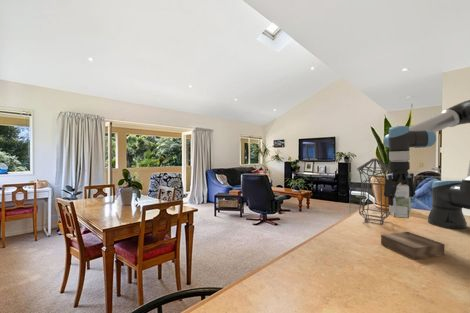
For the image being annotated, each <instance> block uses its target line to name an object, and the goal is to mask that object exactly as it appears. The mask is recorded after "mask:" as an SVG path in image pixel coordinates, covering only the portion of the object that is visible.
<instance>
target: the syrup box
mask: <svg viewBox="0 0 470 313" xmlns="http://www.w3.org/2000/svg"><path fill="white" fill-rule="evenodd" d="M394 198H396V213H391V212H390V215H392V217H393V218H397V219H398V218H399V219H410V212H409V186H408V185H406V184H401V183H399V184H398V186H397V189H396V193H395V196H394Z"/></svg>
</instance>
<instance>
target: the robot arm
mask: <svg viewBox="0 0 470 313" xmlns="http://www.w3.org/2000/svg"><path fill="white" fill-rule="evenodd" d="M466 124H470V99H469V100H465V101H462V102H460V103H457V104H455V105H453V106H450V107H449V108H446V109H444V110H442V111H441V112H440V113H439V114H437V115H434V116H433V117H430V118H428V119H425V120H423V121H421V122H418V123H416V124H412V125H411V126H407V125H399V126H398V125H397V126H391V127H389V129H388V134H386V135H384V138H383V145H384V146H385V147H386V148H388V159H389V160H388V161H389V162H388V165H389V169H390V170H391V173H390V174H385V175H384V178H385V179H384V180H385V181H384V184H385V188H384V187H383V188H384V190H383V196H384V198H385V197H386V198H387V206H388V213H389V212H390V214H391V213H396V198H394V196H395V193H396V189H397V186H398V184H406V185H408V186H409V213H411V212H412V198H414V197H415V195H416V188H415V181H414V177H415V176H414V175H415V173H410V172H409V170H410V169H411V168H410V167H411V165H410V159H411V158H410V156H411V155H410V153H411V152H410V148H428V147H433V146H434V145H435V144H436V142H437V135H436V133H437V132H439V131H441V130H445V129H446V128H453V127H456V126H459V125H466ZM466 174H467V176H466V177H464V178H462V179H461V180H434V181H433V182H432V184H431V210H430V212H429V214H428V216H427V223H428V224H430V225H434V226H437V227H441V228H446V229H447V228H448V229H456V230H458V229H461V230H463V229H467V228H468V224H467V223H468V222H467V221H466V218H465V216H464V212H463V209H464V210H465V209H466V210H470V161H469V164H468V169H467V173H466Z"/></svg>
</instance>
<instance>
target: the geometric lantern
mask: <svg viewBox="0 0 470 313" xmlns="http://www.w3.org/2000/svg"><path fill="white" fill-rule="evenodd" d="M372 165H373V167H372ZM377 165H378V167H377ZM379 169H380V170H379ZM356 170H357V171H358V172H359V177H360V178H359V179H360V183H361V187H360V195H359V197H360V198H359V199H360V200H359V209H358V214H359V215H360V216H361V217H362V218H364V222H365V223H370V224H375V225H383V224H384V221H385V219H387V218H389V216H390V215H391V212H389V211H387V210H388V209H387V208H388V207H387V197H385V196H384V206H385V207H384V211H383V196H382V195H383V194H382V193H383V190H382V186H383V188H385V181H382V180H379V179H378V177H377V176H379V175H381V176H382V178H383V179H384V180H385V175H383V173H385V172H388V174H390V173H391V170H390V169H389V164H387V163H385V162H383V161H382V160H379V159H378V158H376V157H375V158H371V159H370V160H369V161H366V162H365V163H364V164H362V165H360V166H359V167H357V168H356ZM365 171H366V172H365ZM370 172H371V173H372V174H369V173H370ZM388 174H387V175H388ZM362 175H363V176H364V178H365V180H362ZM366 175H367V177H366ZM369 177H370V178H369ZM372 177H374V178H375V180H374V182H378V183H373V185H375V186H376V185H378V186H380V187H379V188H380V191H379V192H380V210H378V209H370V208H369V205H370V185H372V183H371V179H372ZM383 183H384V184H383ZM367 185H368V189H367ZM367 190H368V191H367ZM366 191H367V192H366ZM366 193H367V208H365V204H366ZM361 207H362V208H361ZM361 209H362V210H361ZM366 211H367V212H366ZM369 211H373V212H379V213H380V215H374V214H373V215H372V214H369ZM378 218H379V219H378ZM368 220H372V221H377V222H372V221H368Z"/></svg>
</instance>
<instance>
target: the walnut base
mask: <svg viewBox="0 0 470 313" xmlns="http://www.w3.org/2000/svg"><path fill="white" fill-rule="evenodd" d="M380 245H382V246H384V247H385V248H388V249H389V250H393V251H395V252H397V253H399V254H401V255H404V256H406V257H409V258H411V259H412V260H419V259H426V258H433V257H440V256H445V243H442V242H439V241H435V240H433V239H430V238H427V237H424V236H421V235H418V234H416V233H413V232H410V231H405V232H404V231H403V232H402V231H401V232H394V233H384V234H380Z"/></svg>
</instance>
